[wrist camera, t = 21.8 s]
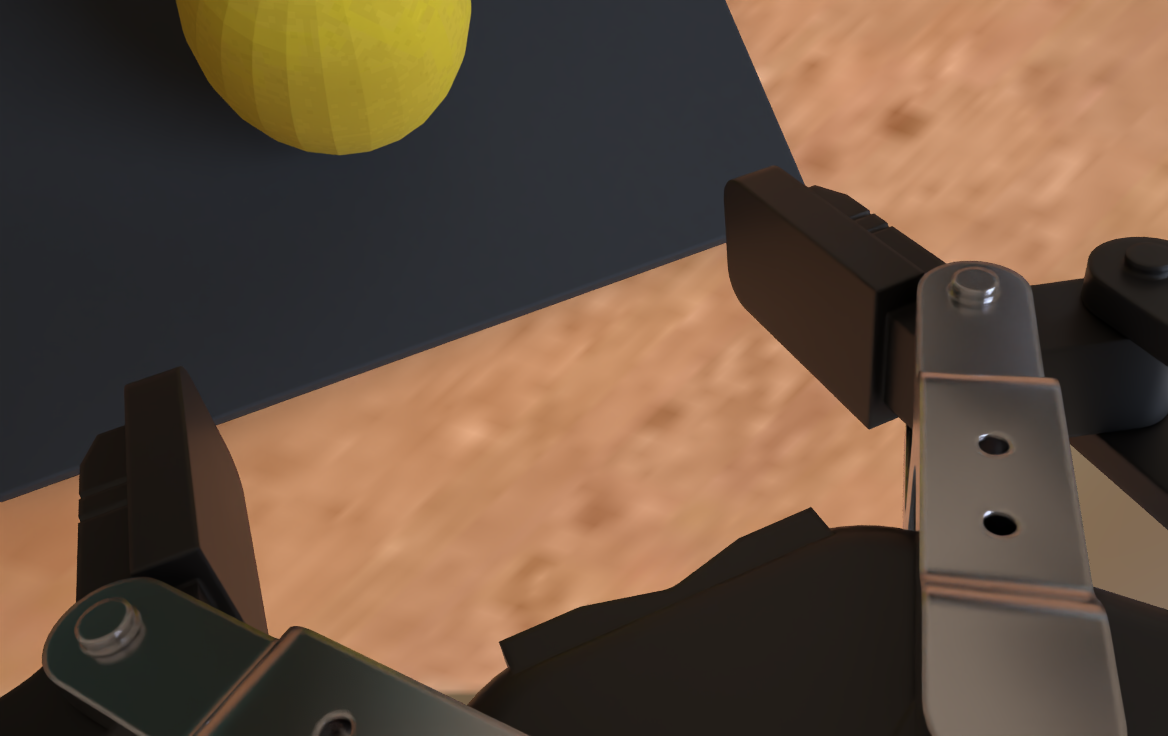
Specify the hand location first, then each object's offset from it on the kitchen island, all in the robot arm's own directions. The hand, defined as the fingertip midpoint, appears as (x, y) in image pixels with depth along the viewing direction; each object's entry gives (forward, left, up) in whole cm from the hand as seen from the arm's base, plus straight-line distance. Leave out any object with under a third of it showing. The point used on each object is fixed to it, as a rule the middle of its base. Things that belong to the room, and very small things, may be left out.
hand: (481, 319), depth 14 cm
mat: (0, -8, -9) cm, 12 cm away
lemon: (0, -8, -9) cm, 12 cm away
